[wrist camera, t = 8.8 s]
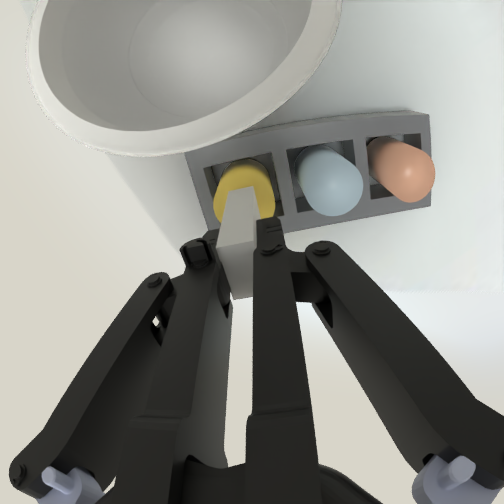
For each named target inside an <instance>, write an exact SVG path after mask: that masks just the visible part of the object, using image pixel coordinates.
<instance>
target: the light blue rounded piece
mask: <svg viewBox="0 0 504 504" xmlns="http://www.w3.org/2000/svg"><path fill="white" fill-rule="evenodd" d="M294 173H295V177H296V179H297V181H298V183H299V185H300V187H301V189H302V191H303V193H304V195H305V197H306V199H307V201H308V203H309V204H310V206H311V207H312V208H313V209H314V210H315V211H317V212H318V213H320V214H323V215H326V216H339V215H342V214H345V213H347V212H349V211H350V210H351V209H353V208H354V207H355V206H356V205H357V203H358V202H359V200H360V198H361V196H362V192H363V180H362V176H361V174H360V172H359V170H358V169H357V168H356V167H355V166H354V165H353V164H352V163H351V162H349V161H348V160H347V159H345V158H344V157H342V156H341V155H340V154H338V153H337V152H336V151H334V150H333V149H331V148H330V147H327V146H324V145H313V146H309V147H307V148H305V149H304V150H303V151H302V152H301V153H300V154H299V155H298V157H297V158H296V161H295V164H294Z"/></svg>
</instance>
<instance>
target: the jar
mask: <svg viewBox="0 0 504 504" xmlns="http://www.w3.org/2000/svg"><path fill="white" fill-rule="evenodd" d="M341 8H342V0H37V3H36V5H35V8H34V10H33V13H32V16H31V20H30V24H29V28H28V34H27V41H26V67H27V74H28V78H29V82H30V85H31V89H32V91H33V94H34V96H35V98H36V100H37V102H38V104H39V106H40V107H41V109H42V110H43V112H44V113H45V115H46V116H47V117H48V118H49V120H50V121H51V122H52V123H53V124H54V125H55V126H56V127H57V128H58V129H59V130H61V131H62V132H63V133H64V134H66V135H67V136H69V137H70V138H72V139H73V140H75V141H77V142H79V143H80V144H83V145H85V146H87V147H90V148H92V149H95V150H98V151H101V152H105V153H109V154H114V155H120V156H129V157H156V156H165V155H172V154H178V153H183V152H187V151H191V150H195V149H199V148H202V147H205V146H208V145H211V144H214V143H217V142H219V141H222V140H224V139H226V138H229V137H231V136H233V135H235V134H237V133H239V132H241V131H243V130H245V129H247V128H249V127H250V126H252V125H254V124H256V123H257V122H259V121H260V120H262V119H263V118H265V117H266V116H268V115H269V114H271V113H272V112H274V111H275V110H276V109H278V108H279V107H280V106H281V105H283V104H284V103H285V102H286V101H287V100H289V99H290V98H291V97H292V96H293V95H294V94H295V93H296V92H297V91H298V90H299V89H300V88H301V87H302V86H303V85H304V84H305V83H306V82H307V80H308V79H309V78H310V77H311V76H312V74H313V73H314V72H315V71H316V69H317V68H318V66H319V65H320V63H321V62H322V60H323V59H324V57H325V55H326V54H327V52H328V50H329V48H330V46H331V44H332V42H333V39H334V37H335V34H336V31H337V28H338V24H339V20H340V15H341Z"/></svg>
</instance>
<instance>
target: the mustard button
mask: <svg viewBox="0 0 504 504" xmlns="http://www.w3.org/2000/svg"><path fill="white" fill-rule="evenodd" d="M250 186H253V187H254V191H255V196H256V200H257V204H258V208H259V213H260V217H261V219H263V218H269V217H272V216H273V214H274V211H275V198H274V194H273V189H272V185H271V180H270V176H269V173H268V171H267V170H266V168H265V167H264V166H263V165H262V164H260V163H259V162H257V161H255V160H251V159H240V160H236V161H234V162H232V163H231V164H229V165H228V166H227V167H226V168H225V170H224V172H223V174H222V176H221V179H220V182H219V185H218V188H217V191H216V194H215V196H214V201H213V208H214V212H215V215H216V217H217V219H218V220H219V222H220V223H221V222H222V217H223V213H224V209H225V204H226V200H227V196H228V191H232V190H236V189H241V188H246V187H250Z"/></svg>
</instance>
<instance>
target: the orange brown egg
mask: <svg viewBox="0 0 504 504" xmlns="http://www.w3.org/2000/svg"><path fill="white" fill-rule="evenodd" d="M367 158H368V169H369V175H370V176H371V177H372V178H374V179H375V180H376V181H378V182H379V183H380V184H381V185H383V186H384V187H385V188H386V189H387V190H389V191H390V192H391V193H392V194H393V195H395V196H396V197H397V198H398V199H400V200H401V201H404V202H408V203H412V202H417V201H419V200H421V199H423V198H424V197H425V196H426V195H427V194H428V193H429V191H430V190H431V188H432V186H433V183H434V180H435V167H434V164H433V161H432V159H431V158H430V156H429V155H428V154H427V153H425V152H424V151H422V150H420V149H418V148H415V147H413V146H411V145H408V144H406V143H404V142H401V141H399V140H396V139H394V138H391V137H387V136H382V137H378V138H376V139H374V140H373V141H372V142H370V144H369V145H368V146H367Z"/></svg>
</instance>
